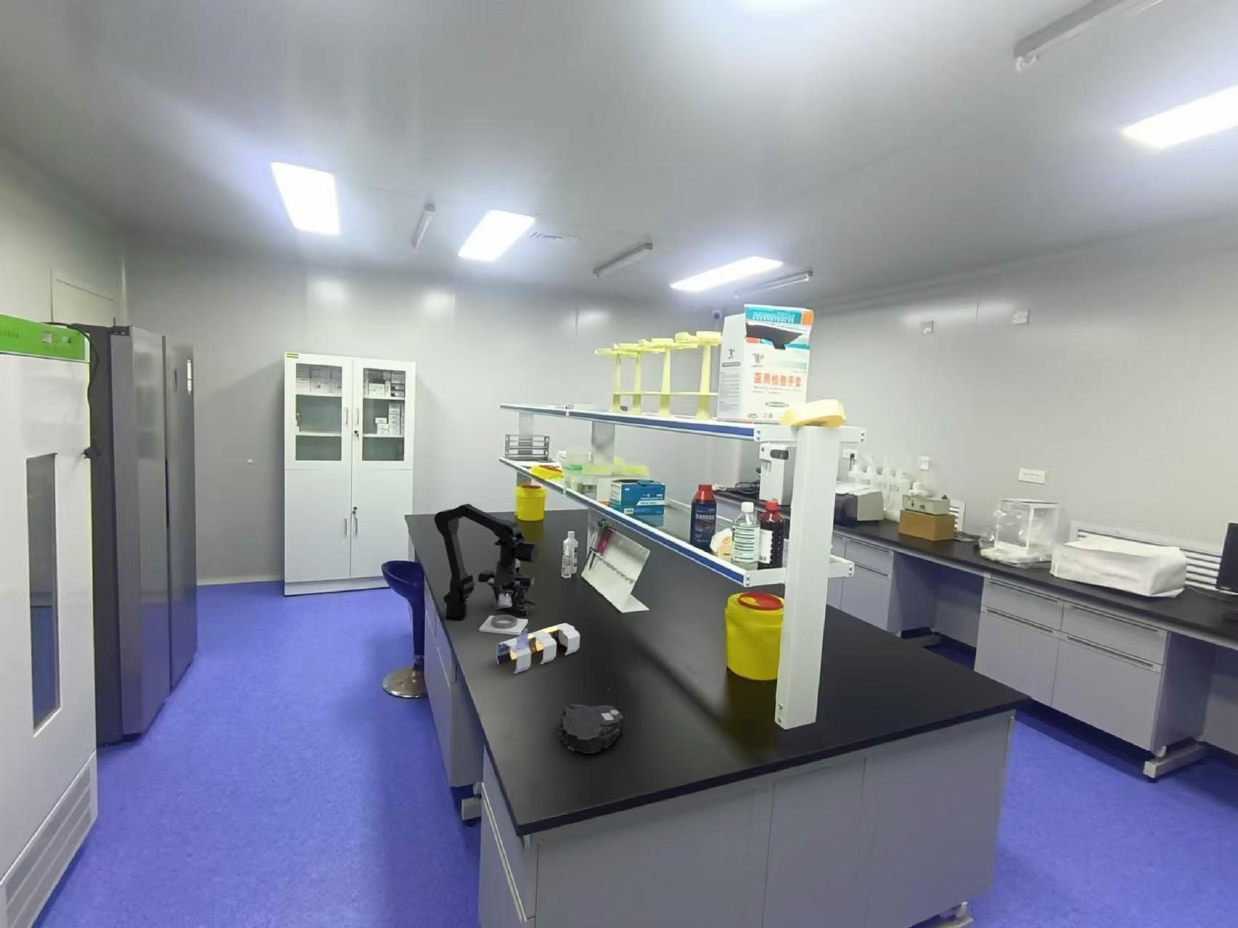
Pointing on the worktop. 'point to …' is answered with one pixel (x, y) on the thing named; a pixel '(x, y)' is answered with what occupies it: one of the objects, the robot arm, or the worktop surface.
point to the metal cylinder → (505, 598)
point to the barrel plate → (505, 631)
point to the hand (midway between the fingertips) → (505, 601)
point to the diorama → (538, 645)
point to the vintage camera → (519, 600)
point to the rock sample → (590, 726)
